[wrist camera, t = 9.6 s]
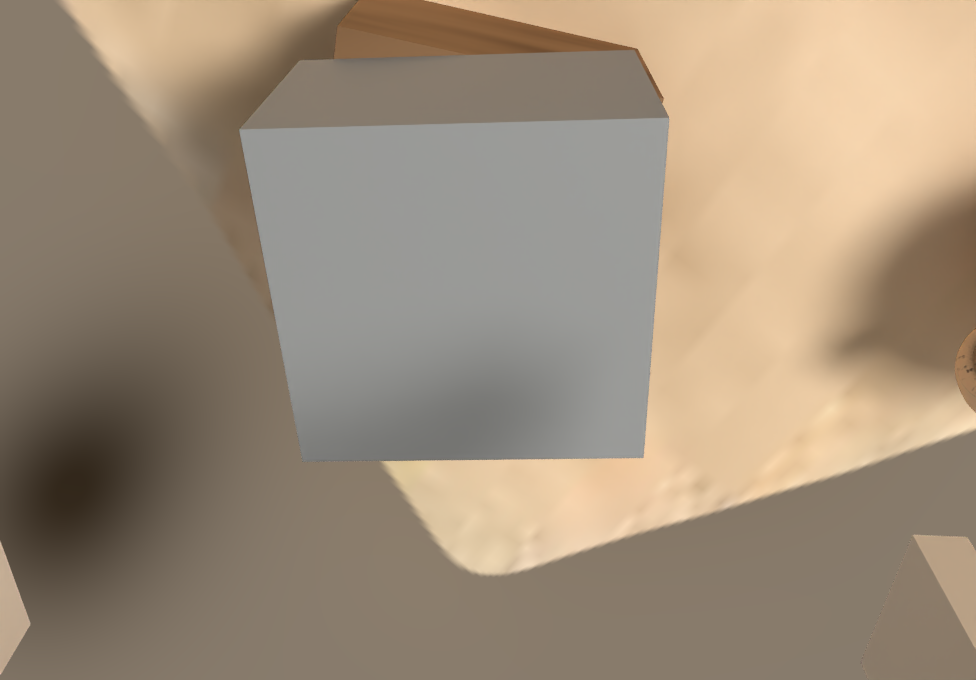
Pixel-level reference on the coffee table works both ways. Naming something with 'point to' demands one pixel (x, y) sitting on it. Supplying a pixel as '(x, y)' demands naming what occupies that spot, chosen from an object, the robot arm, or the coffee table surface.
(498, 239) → the gray brick
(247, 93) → the coffee table surface
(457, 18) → the walnut brick
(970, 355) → the teacup with lid
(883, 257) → the coffee table surface
